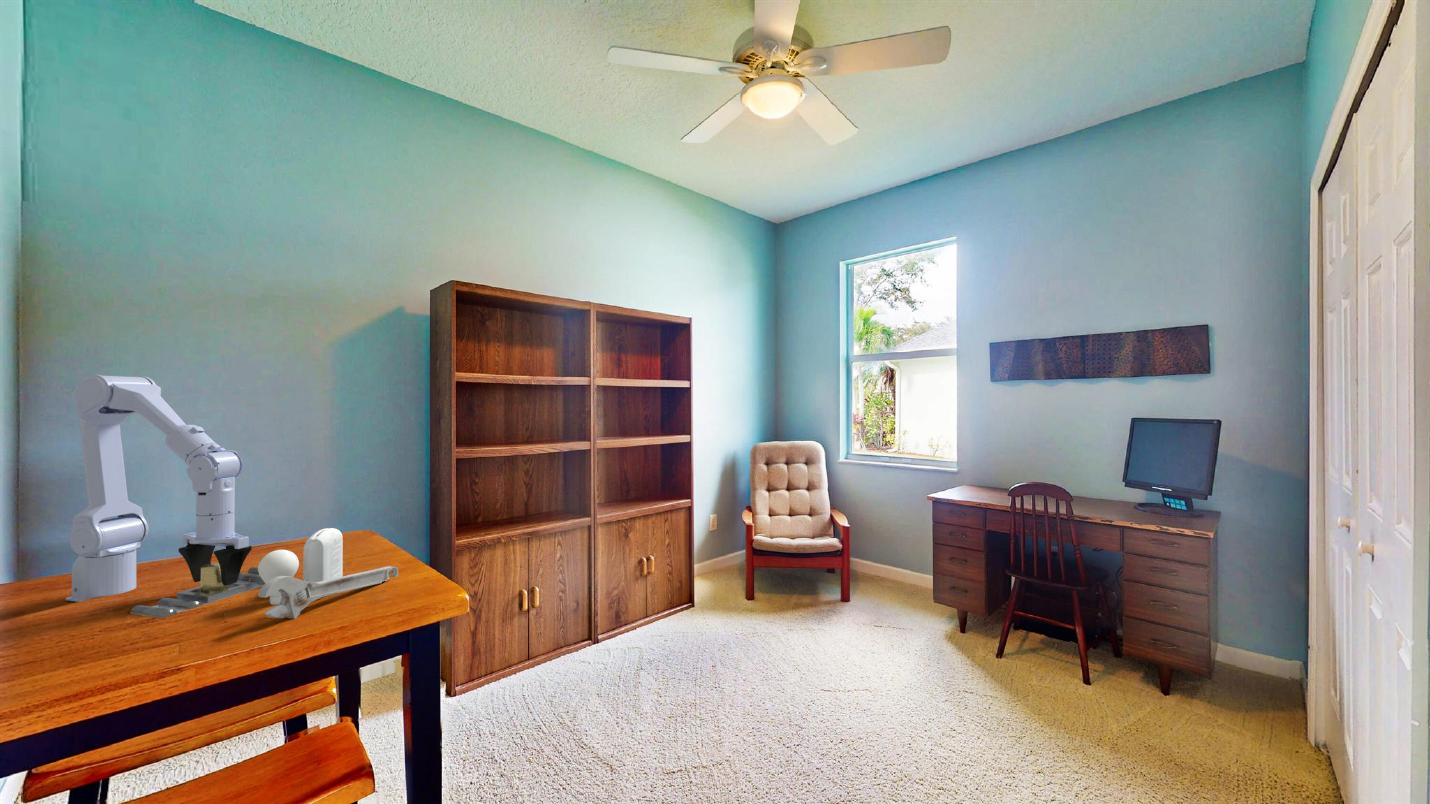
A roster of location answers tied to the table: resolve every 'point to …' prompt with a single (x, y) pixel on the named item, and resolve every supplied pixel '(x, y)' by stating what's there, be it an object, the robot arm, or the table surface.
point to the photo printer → (323, 556)
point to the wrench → (316, 589)
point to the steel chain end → (167, 607)
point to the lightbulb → (278, 569)
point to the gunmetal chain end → (242, 585)
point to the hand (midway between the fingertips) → (215, 582)
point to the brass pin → (211, 579)
